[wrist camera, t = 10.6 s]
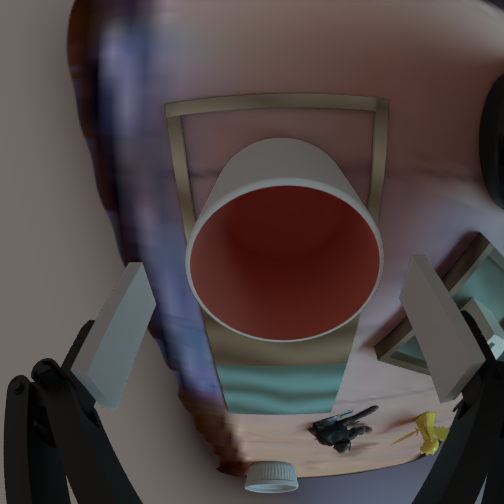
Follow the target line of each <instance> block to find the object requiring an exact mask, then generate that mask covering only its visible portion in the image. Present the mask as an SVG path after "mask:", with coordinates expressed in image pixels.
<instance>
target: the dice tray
mask: <svg viewBox="0 0 504 504" xmlns="http://www.w3.org/2000/svg"><path fill="white" fill-rule="evenodd" d="M441 281H442V282H443V284H444V286H445V287H446V289H447V290H448V292H449V294H450V295H451V297H452V299H453V300H454V302H455V304H456V305H457V307H458V309H459V310H461V309H462V308H463V307H464V306H465V305H466V304H467V302H468V301H469V300H470V299H471V298H472V297H473V298H474V299H476V300H477V301H479V302H480V303H481V304H483V305H484V306H485V307H487V308H488V309H489V310H490V311H492V313H493V314H494V316H495V318H496V319H497V321H498V323H499V324H500V326H501V328H502V329H503V331H504V257H503V256H502V255H501V254H500V253H499V252H498V250H497V249H496V248H495V247H494V246H493V245H492V244H491V243H490V242H489V241H488V240H487V239H486V238H485V237H484V236H483V235H482V234H481V233H479V234H478V236H477V237H476V238H475V240H474V241H473V242H472V243H471V245H470V246H469V247H468V249H467V250H466V251H465V252H464V254H463V255H462V256H461V257H460V259H459V260H458V261H457V262H456V263H455V265H454V266H453V267H452V268H451V269H450V271H449V272H448V273H447V274H446V275H445V276H444V277H443V279H442V280H441ZM374 348H375V351H376V355H377V359H378V360H379V361H382V362H385V363H389V364H392V365H395V366H399V367H402V368H406V369H409V370H413V371H416V372H420V373H423V374H427V375H430V376H431V374H430V371H429V368H428V366H427V363H426V360H425V358H424V355H423V353H422V350H421V348H420V345H419V343H418V340H417V338H416V335H415V333H414V330H413V328H412V326H411V323H410V321H409V319H408V316H407V317H406V318H405V319H404V320H403V321H402V322H401V323H400V324H399V325H398V326H397V327H396V328H395V329H393V330H392V331H391V332H390V333H389V334H388V335H387V336H386V337H385V338H384V339H383V340H382V341H381V342H379V343H378V344H377V345H376V346H375V347H374Z"/></svg>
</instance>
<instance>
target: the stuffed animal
mask: <svg viewBox="0 0 504 504" xmlns="http://www.w3.org/2000/svg"><path fill="white" fill-rule="evenodd" d="M378 408H379V407H378V406H373V407H370V408H369V409H367V410H365V411H363V412H361V413H359V414H357V415H355V416H352V417H348V418H345V419H343V420H340V421H336V420H337V419H339V418H341V417H343V416H346V415H348V414H350V413H352V412H353V410H349V411H346V412H344V413H341V414H339V415H336V416H333V417H329V418H326V419H323V420H320V421H318V422H316V423H313V428H309V429H308V431H309V432H310V433H311V434H313V435H314V436H315V437H316V438H317V439H318V441H319V443H320V444H323V445H328V446H332V445H334V447H333V449H335V450H337V451H338V452H339V453H346V452H349V450H350V447H351V442H350V440H352V439H354V438H355V437H356V436H357V435H358V434H359V435H362V434H364V433H367V434H369V433H371V432H372V428H370V427H369V426H366V425H365V426H358V427H352V428H351V429H350V430H347V426H346V425H349V424H356V423H357V422H360V421H357V422H355V421H356V420H358V419H359V418H362V417H364V416H367V415H368V414H371V413H372V412H374V411H376V410H377V409H378Z"/></svg>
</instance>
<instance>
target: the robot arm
mask: <svg viewBox="0 0 504 504" xmlns="http://www.w3.org/2000/svg"><path fill="white" fill-rule="evenodd" d="M479 148H480V161H481V168H482V173H483V177H484V180H485V183H486V186H487V188H488V191H489V193H490V194H491V196H492V198H493V199H494V200H495V202H496V203H497V204H498V205H499V206H500V207H501V208H503V209H504V74H503V75H502V76H501V77H500V78H499V79H498V80H497V81H496V82H495V84H494V85H493V87H492V89H491V91H490V93H489V95H488V98H487V100H486V103H485V107H484V110H483V115H482V120H481V127H480V141H479ZM399 299H400V301H401V303H402V305H403V307H404V310H405V312H406V314H407V316H408V319H409V321H410V323H411V326H412V328H413V330H414V333H415V335H416V338H417V340H418V343H419V345H420V348H421V350H422V353H423V355H424V358H425V360H426V363H427V366H428V368H429V371H430V374H431V377H432V380H433V382H434V385H435V388H436V391H437V394H438V397H439V400H440V403H444V402H448V401H451V400H455V399H456V397H457V396H458V395H459V394H460V393H461V392H462V395H463V399H462V400H461V401H460V402H459V403H458V404H457V406H456V407H455V408H454V409H453V412H455V411H456V410H457V409H458V410H457V413H456V415H455V418H454V420H453V423H452V425H451V428H450V430H449V433H448V435H447V437H446V440H445V442H444V444H443V446H442V449H441V451H440V453H439V455H438V457H437V459H436V461H435V463H434V465H433V467H432V469H431V471H430V473H429V475H428V476H427V478H426V480H425V482H424V484H423V486H422V487H421V489H420V491H419V493H418V494H417V496H416V498H415V499H414V501H413V502H412V504H475V501H476V499H477V497H478V495H479V492H480V490H481V488H482V486H483V483H484V481H485V478H486V476H487V479H486V484H485V489H484V494H483V498H482V502H481V504H504V351H503V353H502V354H501V355H500V356H499V357H498V359H497V360H496V359H495V357H494V355H493V353H492V351H491V349H490V347H489V345H488V343H487V341H486V339H485V337H484V336H483V335H482V332H481V330H480V328H478V325H477V323H476V321H475V320H474V318H473V317H472V316H471V315H470V314H469V313H468V312H467V311H466V310H462V311H460V310H459V309H458V307H457V305H456V304H455V302H454V300H453V299H452V297H451V295H450V294H449V292H448V290H447V289H446V287H445V286H444V284H443V282H442V281H441V279H440V278H439V276H438V275H437V273H436V272H435V270H434V269H433V267H432V266H431V264H430V263H429V261H428V260H427V258H426V257H425V255H411V259H410V263H409V267H408V270H407V274H406V277H405V281H404V284H403V287H402V291H401V294H400V297H399ZM155 306H156V302H155V299H154V296H153V293H152V290H151V287H150V284H149V281H148V278H147V275H146V272H145V269H144V266H143V263H142V262H140V263H129V264H128V265H127V267H126V269H125V270H124V272H123V273H122V275H121V277H120V279H119V280H118V282H117V283H116V285H115V287H114V289H113V290H112V292H111V294H110V296H109V297H108V299H107V301H106V302H105V304H104V306H103V308H102V310H101V312H100V313H99V315H98V317H97V319H96V321H95V320H89V321H88V322H87V323H86V324H85V325H84V326H83V327H82V328H81V330H80V332H79V334H78V335H77V338H76V339H75V341H74V343H73V345H72V346H71V348H70V350H69V353H68V354H67V356H66V358H65V360H64V362H63V364H62V366H61V368H60V367H59V365H58V364H57V363H56V361H54V360H53V359H50V358H46V359H42V360H41V361H39V362H37V364H36V365H35V366H34V367H33V370H32V373H31V378H32V379H33V380H34V381H35V382H30V381H29V379H28V378H27V377H25V376H24V375H19V376H16V377H14V379H12V380H11V382H10V383H9V385H8V389H7V398H6V408H5V422H4V478H5V491H6V500H7V504H71V502H70V497H69V491H68V486H67V480H66V476H67V478H68V481H69V483H70V486H71V488H72V490H73V493H74V495H75V498H76V500H77V502H78V504H143V503H142V501H141V500H140V498H139V496H138V495H137V493H136V491H135V490H134V488H133V486H132V485H131V483H130V481H129V479H128V478H127V475H126V474H125V472H124V470H123V468H122V466H121V464H120V462H119V460H118V459H117V456H116V454H115V452H114V450H113V448H112V446H111V444H110V442H109V439H108V437H107V435H106V433H105V430H104V428H103V426H102V423H101V421H100V419H99V416H98V414H97V411H96V409H95V408H94V404H95V402H96V401H97V403H98V404H99V405H100V406H101V407H103V408H107V409H112V410H116V411H117V409H118V406H119V403H120V400H121V396H122V394H123V391H124V388H125V385H126V382H127V380H128V377H129V374H130V371H131V368H132V365H133V363H134V359H135V357H136V354H137V352H138V349H139V347H140V344H141V341H142V339H143V336H144V334H145V331H146V328H147V326H148V323H149V321H150V318H151V316H152V313H153V311H154V308H155Z"/></svg>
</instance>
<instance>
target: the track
mask: <svg viewBox="0 0 504 504" xmlns="http://www.w3.org/2000/svg"><path fill="white" fill-rule="evenodd" d="M284 107H311V108H340V109H357V110H369V111H374V133H373V151H372V165H371V177H370V188H369V197H368V206H367V210H368V212H369V214H370V215H371V217H372V218H373V220H374V222H375V224H376V226H377V227H378V221H379V214H380V207H381V199H382V191H383V182H384V173H385V162H386V150H387V135H388V115H389V99H384V98H375V97H364V96H352V95H336V94H306V93H284V94H254V95H238V96H225V97H215V98H206V99H197V100H189V101H182V102H176V103H169V104H165V109H166V117H167V125H168V132H169V139H170V146H171V153H172V160H173V166H174V173H175V179H176V185H177V191H178V197H179V202H180V208H181V213H182V219H183V224H184V229H185V235H186V240H187V243H188V239H189V236H190V234H191V232H192V229H193V227H194V225H195V223H196V217H195V211H194V205H193V198H192V192H191V185H190V179H189V172H188V165H187V158H186V150H185V143H184V135H183V127H182V119H181V115H187V114H195V113H203V112H213V111H224V110H237V109H254V108H284ZM201 309H202V313H203V317H204V322H205V326H206V330H207V334H208V338H209V342H210V346H211V349H212V353H213V357H214V361H215V365H216V368H217V372H218V376H219V379H220V383H221V386H222V390H223V394H224V397H225V400H226V404H227V407H228V411H229V413H232V414H264V415H280V414H312V413H328V412H331V410H332V407H333V404H334V401H335V398H336V395H337V392H338V389H339V386H340V383H341V380H342V377H343V374H344V370H345V367H346V364H347V361H348V357H349V354H350V350H351V347H352V343H353V339H354V336H355V332H356V328H357V324H358V320H359V317H360V313H359V314H358V315H357V316H355V317H354V318H353V319H352V320H350V321H349V322H348V323H346V324H345V325H343V326H342V327H340V328H338V329H336V330H334V331H332V332H330V333H327V334H325V335H322V336H319V337H316V338H312V339H308V340H302V341H295V342H271V341H263V340H258V339H254V338H250V337H247V336H244V335H241V334H239V333H236V332H234V331H232V330H230V329H228V328H227V327H225V326H223V325H222V324H220V323H219V322H217V321H216V320H215V319H214V318H212V317H211V316H210V315H209V314H208V313H207V312H206V311H205V310H204V309H203V308H202V307H201Z"/></svg>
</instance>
